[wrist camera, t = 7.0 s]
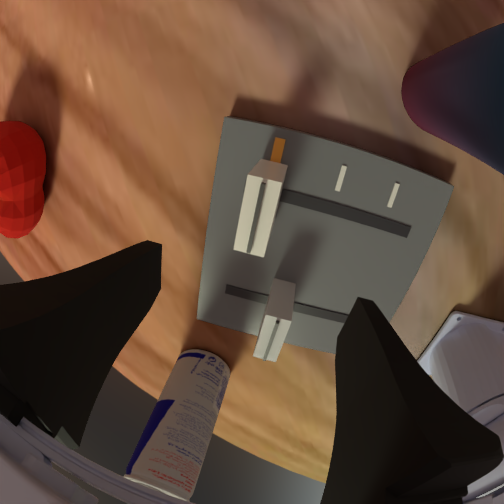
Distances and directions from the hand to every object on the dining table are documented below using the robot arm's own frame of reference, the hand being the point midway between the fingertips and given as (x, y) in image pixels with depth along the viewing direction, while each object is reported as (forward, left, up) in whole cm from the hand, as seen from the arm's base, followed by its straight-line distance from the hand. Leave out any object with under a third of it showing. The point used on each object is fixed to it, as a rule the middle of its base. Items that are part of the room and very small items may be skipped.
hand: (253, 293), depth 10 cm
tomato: (+24, +2, -11) cm, 27 cm away
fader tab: (+1, -1, -9) cm, 9 cm away
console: (-3, +3, -10) cm, 11 cm away
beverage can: (+3, +19, -11) cm, 22 cm away
